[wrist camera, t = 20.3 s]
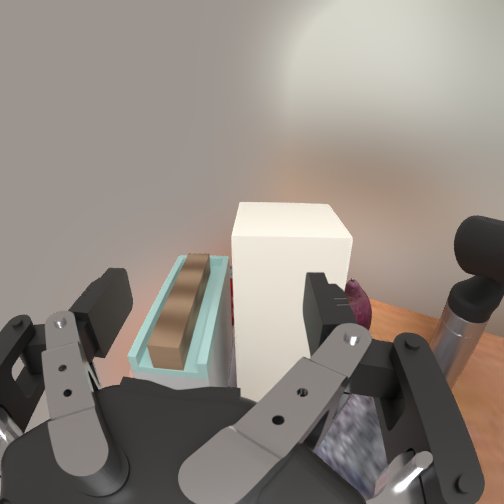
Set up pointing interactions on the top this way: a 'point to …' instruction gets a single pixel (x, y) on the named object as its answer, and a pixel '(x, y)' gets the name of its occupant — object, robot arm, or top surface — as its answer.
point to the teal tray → (204, 329)
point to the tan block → (180, 315)
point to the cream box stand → (279, 284)
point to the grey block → (219, 360)
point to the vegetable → (359, 303)
